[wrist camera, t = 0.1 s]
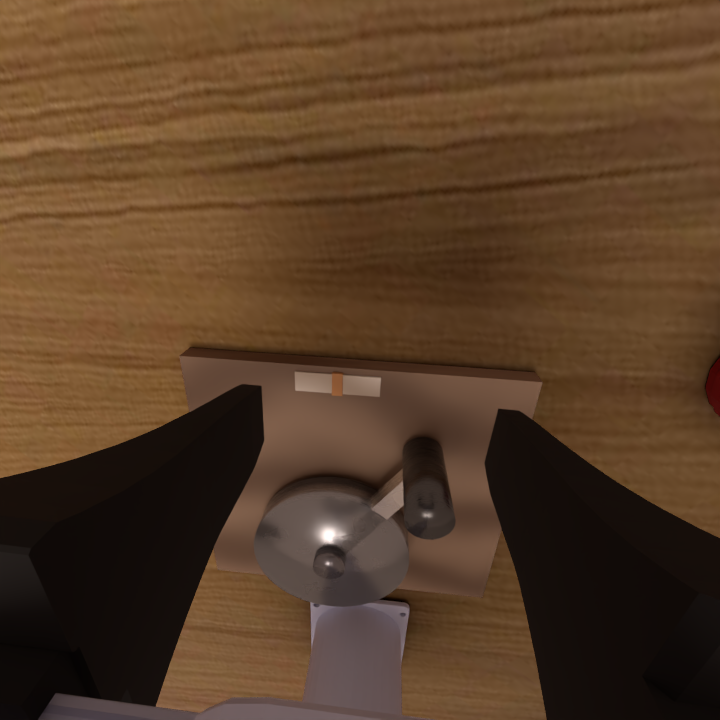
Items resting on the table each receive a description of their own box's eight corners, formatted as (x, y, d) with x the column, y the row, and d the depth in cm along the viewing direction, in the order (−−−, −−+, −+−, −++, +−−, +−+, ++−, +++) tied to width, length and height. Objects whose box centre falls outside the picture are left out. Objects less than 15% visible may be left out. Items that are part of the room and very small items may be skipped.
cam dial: (349, 600, 29) (341, 677, 24) (236, 536, 27) (204, 608, 22) (498, 484, 23) (524, 559, 18) (368, 392, 21) (361, 450, 16)
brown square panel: (482, 582, 29) (486, 600, 27) (224, 555, 30) (216, 571, 29) (539, 372, 21) (548, 384, 20) (189, 347, 22) (177, 357, 21)
